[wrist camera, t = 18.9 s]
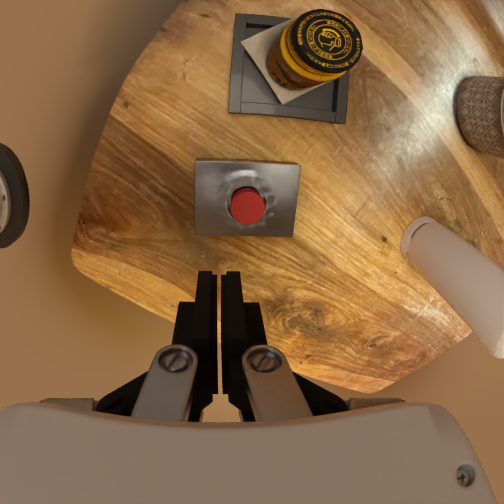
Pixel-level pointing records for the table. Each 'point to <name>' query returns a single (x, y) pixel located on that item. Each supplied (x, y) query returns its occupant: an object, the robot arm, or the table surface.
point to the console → (239, 177)
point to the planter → (482, 113)
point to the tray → (260, 92)
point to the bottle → (459, 278)
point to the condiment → (305, 52)
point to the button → (247, 206)
